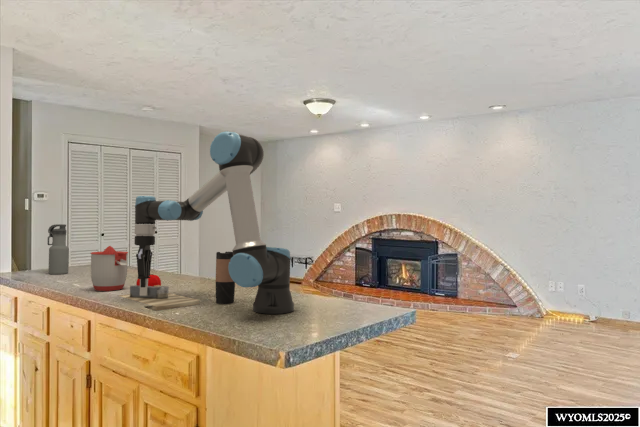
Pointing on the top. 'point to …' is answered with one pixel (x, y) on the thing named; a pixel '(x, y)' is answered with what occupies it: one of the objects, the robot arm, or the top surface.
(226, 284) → the travel mug
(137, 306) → the top surface
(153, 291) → the bar
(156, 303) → the striped wooden cutting board
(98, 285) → the citrus juicer
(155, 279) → the tomato
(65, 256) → the water bottle
